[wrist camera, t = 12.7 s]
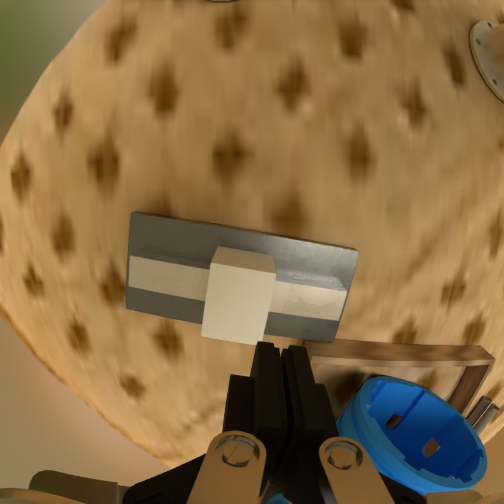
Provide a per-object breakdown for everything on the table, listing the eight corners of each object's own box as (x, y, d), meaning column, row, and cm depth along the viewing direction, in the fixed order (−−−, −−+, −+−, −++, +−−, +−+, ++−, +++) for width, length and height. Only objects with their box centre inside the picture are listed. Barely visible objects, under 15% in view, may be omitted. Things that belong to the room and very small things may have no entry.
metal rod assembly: (480, 394, 36) (495, 410, 31) (488, 394, 36) (502, 410, 32) (399, 486, 42) (406, 503, 37) (408, 485, 42) (415, 501, 37)
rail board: (355, 248, 29) (366, 257, 26) (330, 336, 32) (337, 352, 29) (135, 211, 28) (123, 215, 25) (129, 303, 31) (118, 316, 28)
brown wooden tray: (480, 345, 33) (495, 359, 29) (395, 480, 41) (401, 494, 37) (306, 335, 32) (312, 355, 28) (253, 487, 39) (254, 505, 36)
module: (272, 255, 28) (277, 273, 23) (259, 317, 30) (261, 345, 25) (217, 246, 28) (210, 262, 23) (208, 308, 30) (200, 336, 24)
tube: (399, 363, 39) (316, 379, 27) (502, 448, 22) (469, 527, 10) (316, 465, 44) (227, 495, 33) (388, 542, 27) (307, 603, 16)
